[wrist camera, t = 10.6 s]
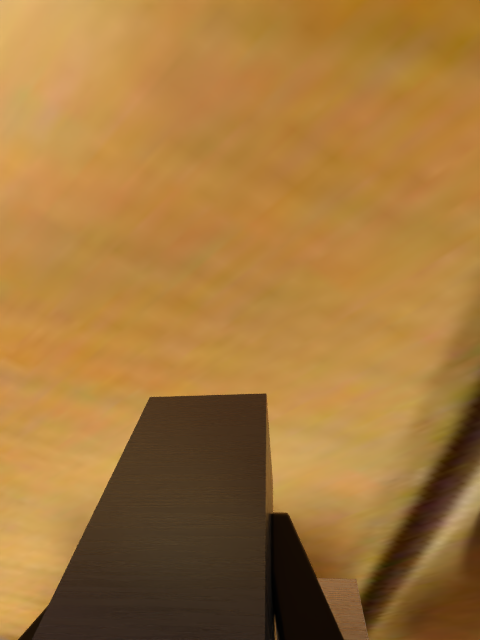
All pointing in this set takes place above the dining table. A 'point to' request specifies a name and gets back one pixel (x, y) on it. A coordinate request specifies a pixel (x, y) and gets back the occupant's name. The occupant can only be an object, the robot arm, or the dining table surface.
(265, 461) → the grey angular piece
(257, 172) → the dining table surface
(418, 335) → the dining table surface
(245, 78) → the dining table surface
